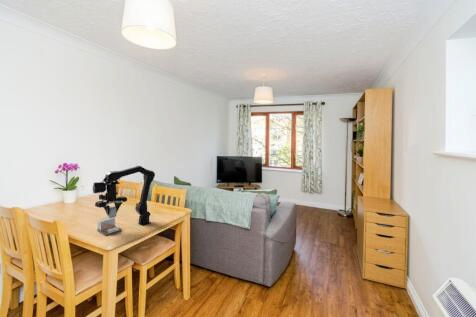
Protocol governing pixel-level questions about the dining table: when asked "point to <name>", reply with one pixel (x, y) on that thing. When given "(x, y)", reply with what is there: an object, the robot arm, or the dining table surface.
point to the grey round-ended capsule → (112, 212)
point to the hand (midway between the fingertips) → (112, 214)
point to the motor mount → (107, 226)
